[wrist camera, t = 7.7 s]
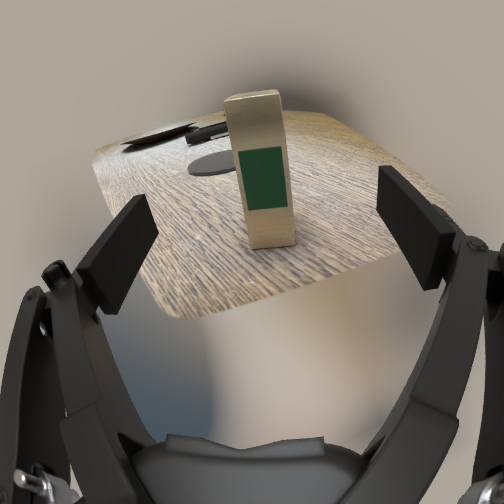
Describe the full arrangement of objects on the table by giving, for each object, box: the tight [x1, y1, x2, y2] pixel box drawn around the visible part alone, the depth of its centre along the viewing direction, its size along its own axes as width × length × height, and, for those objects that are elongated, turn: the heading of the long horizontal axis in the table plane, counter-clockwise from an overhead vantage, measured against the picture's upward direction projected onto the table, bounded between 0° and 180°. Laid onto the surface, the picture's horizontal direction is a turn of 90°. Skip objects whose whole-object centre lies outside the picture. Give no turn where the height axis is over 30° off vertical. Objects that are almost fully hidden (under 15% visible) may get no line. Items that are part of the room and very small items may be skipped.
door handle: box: [185, 121, 229, 144], centre depth 70 cm, size 3×20×16 cm
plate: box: [120, 122, 196, 145], centre depth 84 cm, size 28×28×4 cm
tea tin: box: [223, 89, 296, 250], centre depth 23 cm, size 6×4×13 cm, turn 178°
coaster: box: [188, 150, 236, 176], centre depth 47 cm, size 12×12×1 cm
